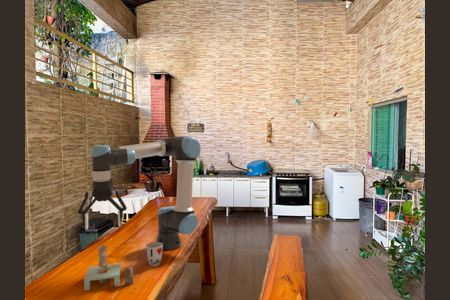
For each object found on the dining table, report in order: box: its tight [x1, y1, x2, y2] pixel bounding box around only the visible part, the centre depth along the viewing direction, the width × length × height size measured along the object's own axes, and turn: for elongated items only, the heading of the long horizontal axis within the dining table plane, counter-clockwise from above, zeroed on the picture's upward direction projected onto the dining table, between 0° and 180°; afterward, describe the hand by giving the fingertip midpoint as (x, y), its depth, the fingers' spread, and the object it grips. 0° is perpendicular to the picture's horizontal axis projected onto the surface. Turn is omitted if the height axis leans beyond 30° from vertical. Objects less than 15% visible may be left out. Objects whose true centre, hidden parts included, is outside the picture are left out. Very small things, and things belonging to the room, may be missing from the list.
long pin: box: [98, 244, 108, 284], centre depth 137 cm, size 3×3×16 cm
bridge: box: [83, 263, 122, 291], centre depth 138 cm, size 14×12×5 cm
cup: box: [146, 241, 163, 267], centre depth 156 cm, size 8×8×10 cm
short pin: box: [124, 266, 134, 286], centre depth 136 cm, size 3×3×7 cm
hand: (103, 227), depth 137 cm, fingers open, 13 cm apart
